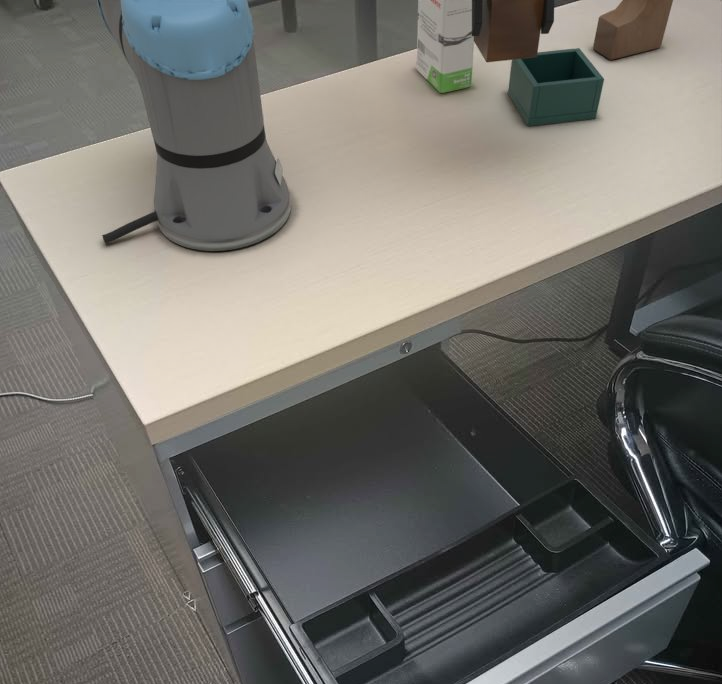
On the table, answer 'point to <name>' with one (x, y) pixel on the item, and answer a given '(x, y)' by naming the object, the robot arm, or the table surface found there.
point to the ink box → (445, 43)
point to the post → (510, 29)
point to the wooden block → (632, 28)
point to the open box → (555, 87)
